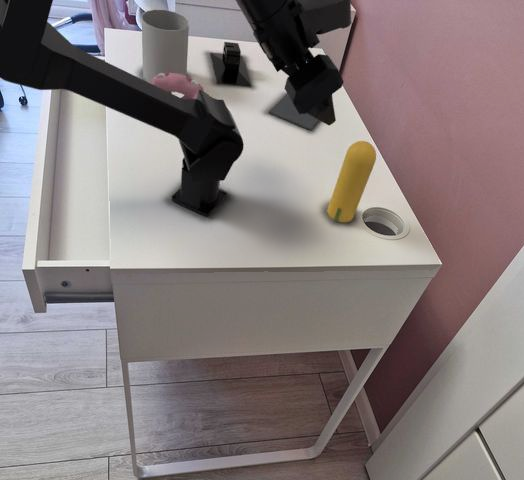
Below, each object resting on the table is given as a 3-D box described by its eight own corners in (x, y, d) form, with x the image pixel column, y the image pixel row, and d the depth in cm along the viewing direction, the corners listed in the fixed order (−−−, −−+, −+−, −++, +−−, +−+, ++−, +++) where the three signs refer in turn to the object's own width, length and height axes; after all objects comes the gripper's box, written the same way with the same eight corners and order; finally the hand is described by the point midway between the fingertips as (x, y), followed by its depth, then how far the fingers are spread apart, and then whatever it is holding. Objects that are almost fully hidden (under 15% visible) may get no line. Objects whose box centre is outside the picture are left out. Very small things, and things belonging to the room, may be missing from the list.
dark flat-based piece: (209, 54, 106) (211, 30, 102) (243, 57, 107) (246, 34, 104) (216, 84, 99) (219, 59, 95) (252, 87, 100) (256, 63, 97)
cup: (194, 78, 99) (198, 22, 91) (169, 92, 94) (170, 35, 86) (160, 61, 100) (160, 5, 92) (133, 75, 95) (131, 17, 87)
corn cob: (347, 226, 79) (375, 157, 69) (322, 215, 80) (346, 144, 70) (357, 211, 82) (384, 142, 72) (333, 200, 83) (357, 130, 73)
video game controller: (202, 122, 93) (207, 80, 90) (199, 123, 89) (205, 79, 85) (149, 110, 92) (153, 68, 89) (144, 111, 88) (147, 66, 85)
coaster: (310, 130, 94) (310, 128, 94) (268, 113, 96) (268, 111, 95) (327, 111, 100) (327, 109, 99) (286, 95, 101) (287, 93, 100)
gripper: (359, -11, 50) (400, 104, 63) (300, -76, 60) (346, 35, 72) (268, 61, 53) (324, 157, 66) (226, -12, 63) (282, 83, 76)
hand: (320, 104), depth 70 cm, fingers open, 9 cm apart
